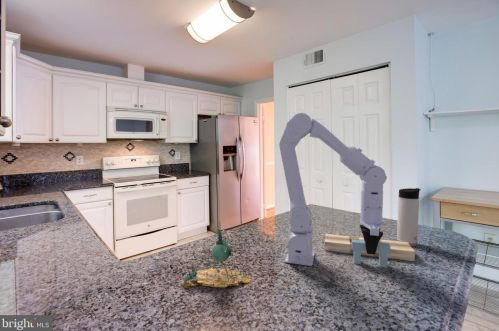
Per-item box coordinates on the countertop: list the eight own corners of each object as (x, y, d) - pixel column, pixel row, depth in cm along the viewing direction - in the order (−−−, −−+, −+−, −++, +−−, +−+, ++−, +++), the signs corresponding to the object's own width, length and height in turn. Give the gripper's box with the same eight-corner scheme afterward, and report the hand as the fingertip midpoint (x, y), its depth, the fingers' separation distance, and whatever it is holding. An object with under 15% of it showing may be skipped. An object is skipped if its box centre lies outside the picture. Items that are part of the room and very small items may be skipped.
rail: (414, 261, 76) (414, 251, 76) (324, 250, 84) (324, 241, 84) (407, 251, 83) (407, 242, 83) (325, 242, 92) (325, 233, 91)
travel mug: (421, 247, 87) (424, 189, 85) (400, 245, 88) (402, 189, 87) (413, 240, 93) (415, 187, 91) (394, 239, 94) (396, 186, 93)
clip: (389, 268, 71) (390, 246, 71) (351, 263, 75) (352, 242, 74) (387, 264, 74) (388, 243, 73) (351, 259, 77) (351, 239, 77)
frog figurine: (187, 271, 70) (192, 219, 69) (251, 279, 69) (257, 227, 69) (176, 290, 60) (182, 230, 59) (250, 299, 60) (257, 239, 59)
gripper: (392, 213, 65) (390, 264, 66) (382, 202, 79) (380, 244, 80) (362, 211, 67) (361, 260, 68) (357, 200, 81) (356, 241, 82)
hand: (370, 251), depth 74 cm, fingers closed on clip, 2 cm apart
